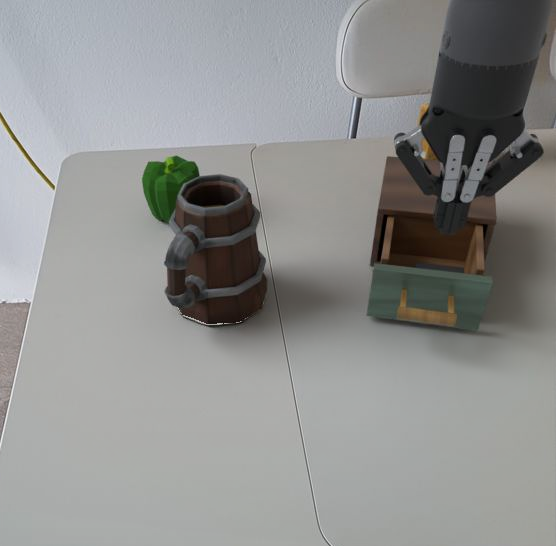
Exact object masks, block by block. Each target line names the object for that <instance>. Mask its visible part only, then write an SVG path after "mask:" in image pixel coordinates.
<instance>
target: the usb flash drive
mask: <svg viewBox="0 0 556 546" xmlns="http://www.w3.org/2000/svg"><path fill="white" fill-rule="evenodd" d="M414 268H421V269H430V270H439V271H447V272H456V273H464V267H455V266H446V265H437V264H428V263H419V262H415V265H414Z"/></svg>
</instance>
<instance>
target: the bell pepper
mask: <svg viewBox="0 0 556 546" xmlns="http://www.w3.org/2000/svg"><path fill="white" fill-rule="evenodd" d="M199 169H200V168H199V166H198V165H197V163H196V161H195V160H194V161H193V160H187V159H184V158H183V157H180V156H178V155H173V156H168V157H166V158H165V160H164V161H160V160H159V161H158V160H157V161H147V164H146V165H145V168H144V171H143V174H142V177H141V184H142V190H143V196H144V198H145V200H146V203H147V205H148V208H149V210H150V213H151V214H152V216H153V217H154V218H155V219H157V220H159V221H164V223H166V224H169V220H170V218H171V216H172V214H173V212H174V210H175V206H176V199H177V197H178V194H179V192H180V190H181V188H182V186H183V184H184V183H187V182H189V181H191V180H193V179H195V178H197V177H199V176H201V175H200V170H199Z"/></svg>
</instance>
